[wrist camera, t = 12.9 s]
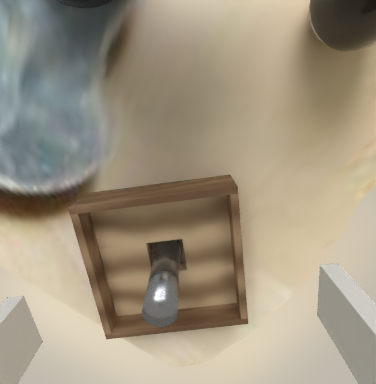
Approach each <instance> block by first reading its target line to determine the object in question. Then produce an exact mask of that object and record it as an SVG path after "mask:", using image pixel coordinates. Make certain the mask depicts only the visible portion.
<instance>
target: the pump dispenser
mask: <svg viewBox="0 0 376 384" xmlns="http://www.w3.org/2000/svg"><path fill="white" fill-rule="evenodd" d="M309 19H310V24H311V27H312V30H313V32H314V33H315V35H316V36H317V38H318V39H319V40H320V41H321V42H323V43H324V44H326V45H328V46H329V47H331V48H333V49H336V50H340V51H356V50H360V49H363V48H366V47H369V46H371V45H373V44H375V43H376V0H310V6H309Z"/></svg>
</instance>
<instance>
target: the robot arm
mask: <svg viewBox="0 0 376 384" xmlns="http://www.w3.org/2000/svg"><path fill="white" fill-rule="evenodd" d="M57 1H59V2H61V3H64V4H67V5H70V6H74V7H81V8H89V7H96V6H100V5H103V4H105V3H107V2H109V1H111V0H57ZM317 315H318V317H319V319H320V320H321V322H322V324H323V325H324V327H325V329H326V330H327V332H328V334H329V335H330V337H331V339H332V340H333V342H334V343H335V345H336V347H337V349H338V350H339V352H340V354H341V355H342V357H343V359H344V360H345V362H346V364H347V365H348V367H349V369H350V370H351V372H352V374H353V375H354V377H355V379H356V380H357V382H358V384H376V304H375V303H374V302H373V301H372V300H371V299H370V297H369V296H368V295H367V294H366V293H365V292H364V291H363V290H362V289H361V288H360V287H359V285H358V284H357V283H356V282H355V281H354V280H353V279H352V278H351V277H350V276H349V275H348V273H347V272H346V271H345V270H344V269H343V268H342V267H341V266H340V265H339V264H338V263H335V264H325V265H320V275H319V293H318V312H317ZM42 342H43V341H42V339H41V337H40V334H39V332H38V329H37V327H36V324H35V322H34V320H33V317H32V315H31V312H30V310H29V308H28V305H27V303H26V301H25V298H24V296H20V297H9V298H6V300H5V301H4V302H3V303H2V304H1V305H0V384H18V382H19V381H20V379H21V377H22V376H23V374H24V372H25V371H26V369H27V367H28V365H29V364H30V362H31V360H32V359H33V357H34V355H35V354H36V352H37V350H38V349H39V347H40V345H41V344H42Z"/></svg>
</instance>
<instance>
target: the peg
mask: <svg viewBox="0 0 376 384" xmlns="http://www.w3.org/2000/svg"><path fill="white" fill-rule="evenodd" d="M180 251H181V248H180V244H179V243H178V242H177V241H176V240H169V241H161V242H158V243H157V246H156V250H155V254H154V259H153V263H152V268H151V272H150V277H149V281H148V286H147V290H146V295H145V299H144V304H143V308H142V316H143V318H144V319H145V321H146V322H147V323H149V324H150V325H153V326H156V327H164V326H168V325H170V324H172V323H173V322H174V321H175V320H176V318H177V315H178V295H179V273H180Z"/></svg>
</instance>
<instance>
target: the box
mask: <svg viewBox="0 0 376 384" xmlns="http://www.w3.org/2000/svg"><path fill="white" fill-rule="evenodd" d="M68 209H69V212H70V216H71V219H72V222H73V226H74V229H75V233H76V236H77V240H78V243H79V246H80V250H81V253H82V257H83V260H84V264H85V267H86V271H87V274H88V277H89V281H90V284H91V288H92V291H93V295H94V298H95V301H96V305H97V308H98V312H99V315H100V319H101V322H102V326H103V329H104V332H105V336H106V339H112V338H121V337H130V336H140V335H149V334H158V333H167V332H177V331H186V330H195V329H204V328H214V327H223V326H232V325H241V324H248V316H247V303H246V290H245V277H244V264H243V252H242V239H241V226H240V213H239V200H238V187H237V185H236V183H235V182H234V180H233V179H232V177H231V176H230V175H225V176H217V177H210V178H202V179H194V180H186V181H179V182H171V183H163V184H155V185H148V186H140V187H132V188H124V189H117V190H109V191H101V192H93V193H86V194H84V195H83V196H82V197H81V198H79V199H78V200H77V201H76V202H75V203H73V204H72V205H71V206H70V207H69V208H68ZM177 239H182V240H183V246H184V253H185V259H186V261H185V262H180V273H179V295H178V315H177V318H176V320H175V321H174V322H173V323H172V324H170V325H168V326H164V327H156V326H153V325H150V324H149V323H147V322H146V321H145V319H144V318H143V316H142V308H143V304H144V299H145V295H146V290H147V286H148V281H149V277H150V272H151V268H152V263H153V255H152V250H151V245H150V243H153V242H161V241H169V240H177Z"/></svg>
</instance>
